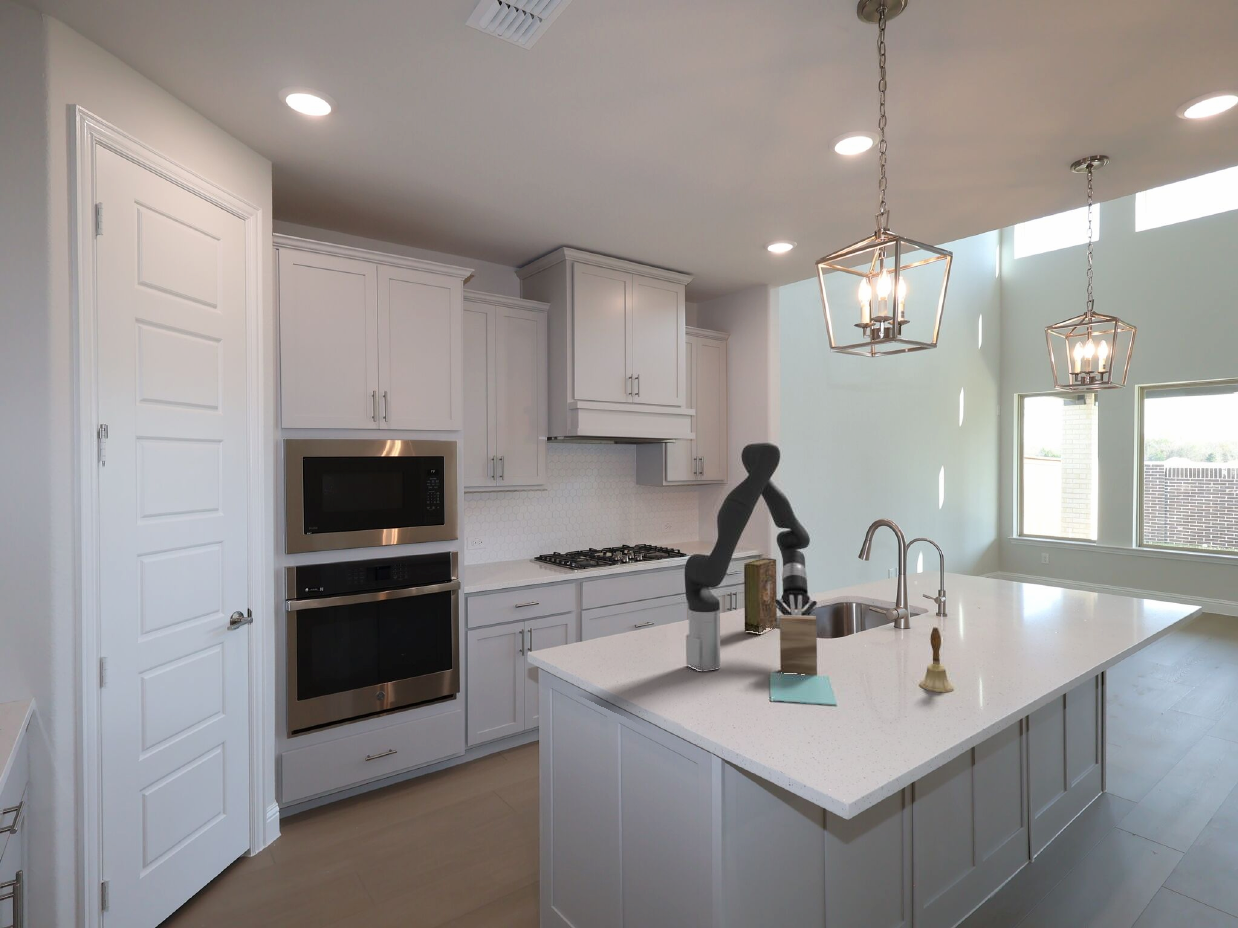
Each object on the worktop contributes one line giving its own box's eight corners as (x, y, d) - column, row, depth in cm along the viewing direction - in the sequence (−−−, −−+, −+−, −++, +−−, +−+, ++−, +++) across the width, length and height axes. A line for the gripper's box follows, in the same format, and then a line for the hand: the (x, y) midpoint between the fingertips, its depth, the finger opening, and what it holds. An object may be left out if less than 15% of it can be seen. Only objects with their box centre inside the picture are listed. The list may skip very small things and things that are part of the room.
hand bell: (958, 693, 170) (957, 631, 170) (924, 691, 171) (923, 630, 171) (948, 682, 178) (947, 624, 178) (915, 681, 180) (914, 623, 180)
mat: (836, 705, 162) (836, 703, 162) (770, 701, 165) (770, 699, 165) (828, 677, 183) (828, 675, 183) (770, 673, 187) (770, 672, 187)
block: (817, 675, 185) (816, 619, 185) (780, 673, 187) (780, 617, 187) (816, 671, 189) (815, 616, 189) (780, 669, 191) (779, 614, 191)
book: (764, 624, 245) (763, 557, 245) (778, 626, 241) (777, 558, 242) (744, 633, 232) (744, 563, 232) (759, 636, 228) (758, 564, 228)
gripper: (773, 573, 205) (774, 621, 193) (817, 574, 202) (820, 623, 190) (773, 586, 211) (774, 634, 199) (815, 588, 208) (819, 636, 196)
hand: (796, 628), depth 194 cm, fingers closed
